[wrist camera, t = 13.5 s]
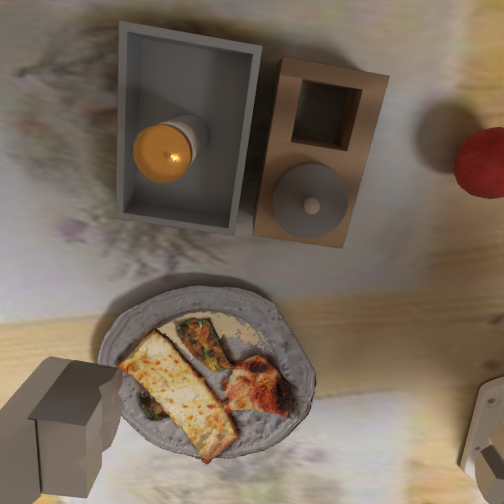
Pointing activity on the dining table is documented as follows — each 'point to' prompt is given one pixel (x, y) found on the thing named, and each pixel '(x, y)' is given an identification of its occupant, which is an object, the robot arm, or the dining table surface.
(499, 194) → the red round piece
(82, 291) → the dining table surface
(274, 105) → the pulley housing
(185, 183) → the parts tray
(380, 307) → the dining table surface
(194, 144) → the pin
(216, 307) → the food plate
